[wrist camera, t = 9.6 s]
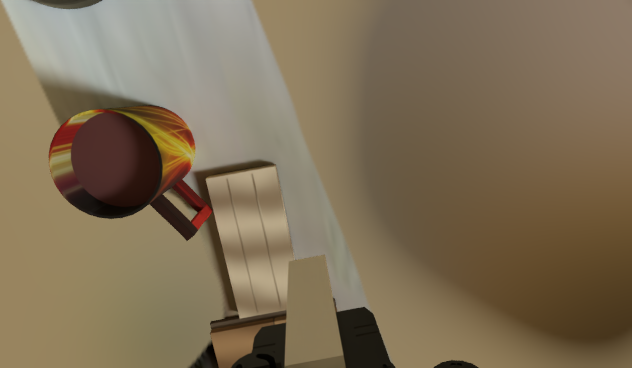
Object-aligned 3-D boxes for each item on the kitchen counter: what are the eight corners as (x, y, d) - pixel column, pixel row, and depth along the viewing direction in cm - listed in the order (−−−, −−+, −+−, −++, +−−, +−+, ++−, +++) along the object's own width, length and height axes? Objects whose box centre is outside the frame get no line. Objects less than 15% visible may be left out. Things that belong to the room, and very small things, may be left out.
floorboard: (211, 321, 52) (208, 327, 51) (334, 298, 52) (335, 304, 51) (229, 393, 55) (227, 401, 53) (347, 371, 55) (349, 378, 53)
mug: (212, 214, 49) (186, 251, 38) (99, 170, 47) (34, 194, 36) (241, 140, 48) (224, 155, 36) (125, 91, 46) (67, 90, 34)
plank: (208, 176, 48) (205, 179, 46) (275, 164, 48) (275, 166, 46) (241, 312, 52) (239, 318, 51) (303, 300, 52) (303, 307, 51)
